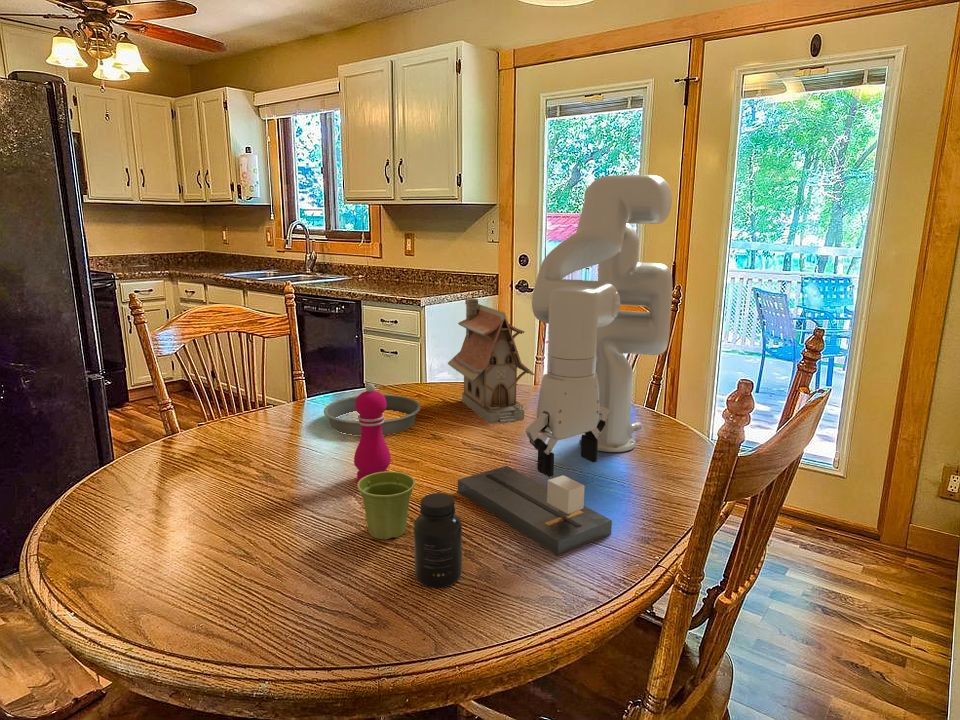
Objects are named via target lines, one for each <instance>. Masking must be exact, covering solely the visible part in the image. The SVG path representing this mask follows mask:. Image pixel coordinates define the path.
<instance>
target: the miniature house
mask: <svg viewBox="0 0 960 720" xmlns="http://www.w3.org/2000/svg"><path fill="white" fill-rule="evenodd" d="M464 301H465V303H464V304H465V306H466V307H465V308H466V309H465V311H466V313H465V314H466V315H465V316H466V317H465V319H463V320H461V321H459V322H457V324H458V325H459V326H460V327H463V328H464V329H465V336H464V340H463V342H462V345H461V348H460V351H459V352H458V353H457V354H455V356H454V357H452V358H451V359H450V360H449V361H448V362H447V365H449V366H450V367H451V368H452V369H454V370H455V371H457V372H458V373H460V374H461V375H462V376H463V392H462V393H461V402H462V403H463V404H464V403H465V404H466V405H467V406H466V405H465V404H464V405H465V406H466V407H467V408H469V409H470V408H471V409H472V410H471V409H470V410H471V411H472V412H474V413H475V414H476V413H477V415H478V416H479V417H480V418H481V419H482V420H484V421H485V422H486V423H487V424H489V425H490V424H497V423H499V424H509V422H510V423H516V421H515V420H517V421H524V420H525V409H524V408H523V406H524V404H522V403H520V402H519V401H518V400H517V383H518V382H519V380H520V379H521V378H522V377H523V376H524V375H526V374H529V375H531V376H535V373H534V372H533V371H532V370H531V369H529V368H528V367H527V366H525V364H523V363H522V360H521V357H520V354H519V351H518V348H517V346H516V342H515V338H516V337H517V336H518V335H523V334H525V332H526V331H524V330H522V329H519V328H517V327H515V326H513V325H511V324H510V323H509V321H508V318H507V316H506V315H507V314H506V312H504V311H501V310H497V309H495V308H491V307H488V306H485V305H483V304H480V303H479V299H478V298H475V297H473V298H465V300H464ZM512 331H513V332H515V333H513V332H512ZM512 333H513V334H512ZM518 369H520V370H521V371H522V372H521V373H520V374H519V375H518ZM517 375H518V376H517ZM523 419H524V420H523Z"/></svg>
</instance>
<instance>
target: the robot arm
mask: <svg viewBox="0 0 960 720" xmlns="http://www.w3.org/2000/svg"><path fill="white" fill-rule="evenodd" d="M672 197H673V195H672V190H671V186H670V184H669V183H668V181H666V180H665V179H664V178H663V177H661V176H658V175H654V174H628V175H627V174H624V175H623V174H621V175H620V174H619V175H617V174H616V175H615V174H613V175H604V176H601V177H598V178H597V179H595V180H593V182H591V183H590V185H588V186H587V187H586V188H585V191H584V199H583V200H584V202H583V206H582V209H581V213H580V216H579V220H578V223H577V228H576V231H575V233H573V234H572V235H570V236H569V237H567V238H566V239H564V240H563V241H561V242H560V243H559V244H558V245H556V246H555V247H554V248H553V249H552V250H551V251H550V252H548V254H547V255H546V256H545V257H544V259H543V260H542V263H541V265H540V266H539V270H538V273H537V277H536V279H535V283H534V287H533V292H532V295H531V310H532V313H533V315H534V317H535V319H537V320H538V321H540V322H542V323H544V324H548V329H547V330H548V333H547V334H548V338H547V362H546V363H547V365H546V367H547V368H546V369H547V370H546V374H543V375H542V379H541V382H540V388H539V394H538V400H537V407H536V409H537V410H536V419H535V420H534V421H533V422H532V423H530V424H529V425H528V426H527V427H526V428H525V433H526V436H527V438H528V440H529V443H530V444H531V445H532V446H533V447H534V449H535V450H536V451H537V463H536V464H537V467H536V469H537V472H538V473H540V474H542V475H544V476H546V477H547V478H551V477H552V478H553V476H554V475H555V474H554V473H555V471H554V470H555V454H554V453H553V452H552V451H553V449H554V448H555V446H556V444H557V443H558V441H561V440H566V439H569V438H572V437H576V436H579V435H581V437H580V457H581V458H582V459H584V460H587V461H589V462H591V463H596V462H597V461H598V451H599V452H605V453H621V452H627V451H630V450H633V449H634V448H635V447H636V441H637V440H636V438H634V437H633V436H632V434H633V433H634V432H637V431H639V430H640V431H641V430H642V427H643V425H642V424H641V422H639V421H636V422H633V423H631V418H632V417H631V416H632V415H631V414H632V413H631V412H632V401H633V400H632V399H633V398H632V397H633V388H634V387H633V384H634V371H633V368H632V365H631V364H630V362H629V360H628V359H627V357H626V356H625V355H624V354H627V355H628V354H634V355H645V356H659V355H662V354H664V353H665V351H666V350H667V348H668V347H669V342H670V333H671V320H672V319H671V318H672V301H673V275H672V272H671V270H670V267H668V266H667V265H665V263H658V262H641V261H639V251H640V249H639V248H640V247H639V246H640V239H639V236H638V234H637V232H636V230H635V229H634V227H633V226H632V224H634V225H637V224H641V225H660V224H663V223H664V222H665V221H666V220H667V219H668V217H669V215H670V212H671V208H672V199H673V198H672ZM595 265H598V266H597V280H585V279H584V280H583V279H569V278H567V279H566V278H565V277H567V276H569V275H570V274H573V273H574V272H577V271H581V270H583V269H587V268H591V267H592V266H595ZM621 306H628V307H630V306H631V307H645V308H647V309H648V311H636V310H635V311H633V310H625V309H624V310H620V308H621ZM551 432H552V433H551ZM548 438H549V439H548ZM547 440H548V441H547ZM546 441H547V443H545V442H546Z"/></svg>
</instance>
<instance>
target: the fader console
mask: <svg viewBox="0 0 960 720" xmlns="http://www.w3.org/2000/svg"><path fill="white" fill-rule="evenodd" d="M547 487H548V485H545V484H543V483H541V482H540V481H537V480H535V479H533V478H531V477H529V476H527V475H526V474H524V473H522V472H520V471H518V470H516V469H514V468H512V467H510V466H509V465H505V466H501V467H498V468H495V469H490V470H487V471H483V472H480V473H477V474H473V475H470V476H467V477H466V476H465V477H462V478H459V479H457V493H458V494H461V495H462V496H463V497H464V498H467V499H468V500H470V501H472V502H473V503H474V504H476V505H478V506H479V507H481V509H482V508H483V509H484V510H485V511H487V512H488V513H490V514H492V515H493V516H494V517H496V518H498V519H500V521H503V522H504V523H506V524H507V525H509V526H510V527H512V528H514V529H515V530H516V531H518V532H520V533H521V534H523V536H526V537H528V538H529V539H530V540H532V541H534V542H535V543H537V544H538V545H540V546H541V547H543V548H544V549H546V550H548V551H549V552H551V553H553V554H554V555H556V556H557V557H559V556H561V555H564V554H566V553H568V552H569V553H570V552H571V551H574V550H576V549H578V548H581V547H584V546H585V545H586V546H587V545H589V544H591V543H593V542H595V541H598V540H600V539H603V538H605V537H607V536H610V535H612V526H613V525H612V523H613V520H612V519H610V518H608V517H606V516H604V514H603V515H602V514H601V513H599V512H596V511H595V510H593V509H591V508H589V507H587V506H586V505H584V506H583V509H580V510H578V511H575V512H572V513H570V516H567V517H565V516H563V515H561V514H559V509H558V508H556V507H554V506H552V505H551V504H549V503H547Z"/></svg>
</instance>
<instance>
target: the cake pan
mask: <svg viewBox="0 0 960 720" xmlns="http://www.w3.org/2000/svg"><path fill="white" fill-rule="evenodd" d="M358 396H359V395H357V396H351V397H346V398H342V399H338V400H336V401H333V402H332V403H329V404H328V405H326V407H324V409H323V414H324V416H325V417H326V418H328V420H329V423H330V425H331V428H332V427H333V428H334V429H335V430H337V431H339V432H342V433H346V434H352V435H361V425H360V424H359V423H358V421H354V420H349V419H341V418H336V417H338V416H340V415H343V414H346V413H349V412H353V411H356V408H355V402H356V399H357V397H358ZM383 396H384V397H385V399H386V409H385V410H393V411H399V412H402V413H406V414H408V415H406V416H403V417H400V418H395V419H390V420H384V423H383V424H382V434H383V435H385V436H389V435H388V434H391V435H394V434H393V433H395V434H399V433H402V432H405V431H406V430H410V429H411V428H412V427H413V426H414V425H415V423H416V419H417V414H418V413H419V412H420V411H421V409H422V405H421V403H420V402H419V401H417V400H416V399H413V398H410V397H407V396H402V395H396V394H383ZM410 427H411V428H410ZM333 428H332V429H333ZM334 429H333V430H334ZM335 430H334V431H335ZM404 430H405V431H404ZM337 431H336V432H337ZM401 431H402V432H401ZM339 432H338V433H339ZM398 432H399V433H398ZM342 433H341V434H342ZM346 434H345V435H346Z"/></svg>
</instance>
